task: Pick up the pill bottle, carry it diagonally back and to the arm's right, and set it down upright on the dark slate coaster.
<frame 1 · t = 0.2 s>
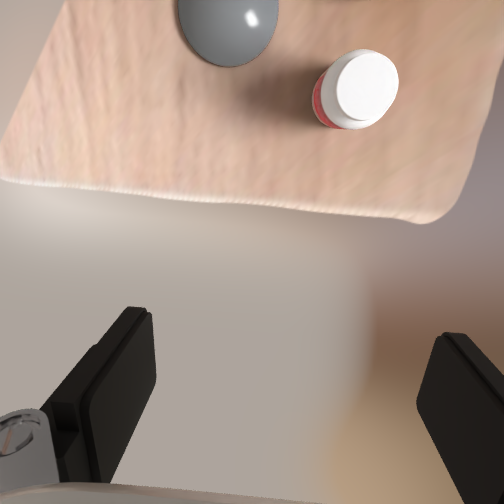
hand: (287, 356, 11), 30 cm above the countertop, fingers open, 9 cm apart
pill bottle: (339, 97, 35), on the countertop
coaster: (228, 10, 32), on the countertop
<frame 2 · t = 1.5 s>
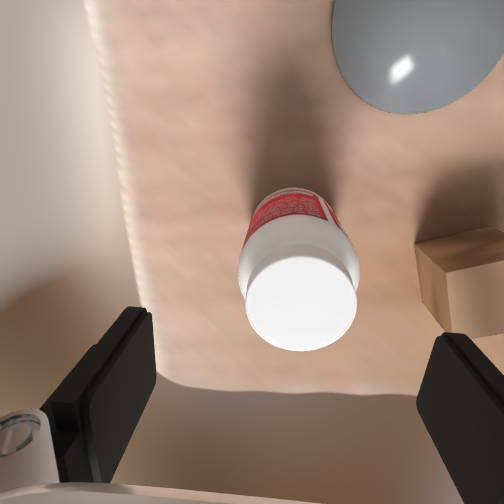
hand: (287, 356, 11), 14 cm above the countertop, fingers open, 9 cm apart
pill bottle: (292, 227, 24), on the countertop
coaster: (420, 19, 18), on the countertop
light brown wooden block: (453, 265, 24), on the countertop
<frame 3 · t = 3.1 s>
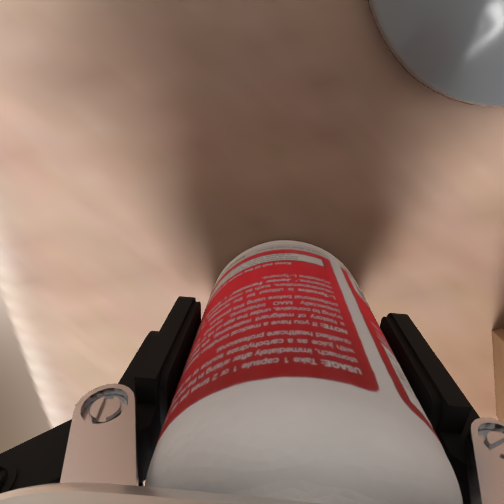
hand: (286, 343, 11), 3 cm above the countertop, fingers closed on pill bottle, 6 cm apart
pill bottle: (284, 301, 14), on the countertop, touching gripper
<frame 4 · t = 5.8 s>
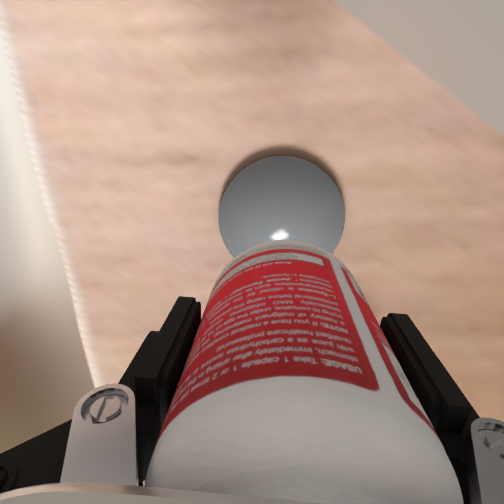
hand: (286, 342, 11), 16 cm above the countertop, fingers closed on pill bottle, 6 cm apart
pill bottle: (284, 301, 14), point 13 cm above the countertop, touching gripper
coaster: (280, 219, 26), on the countertop
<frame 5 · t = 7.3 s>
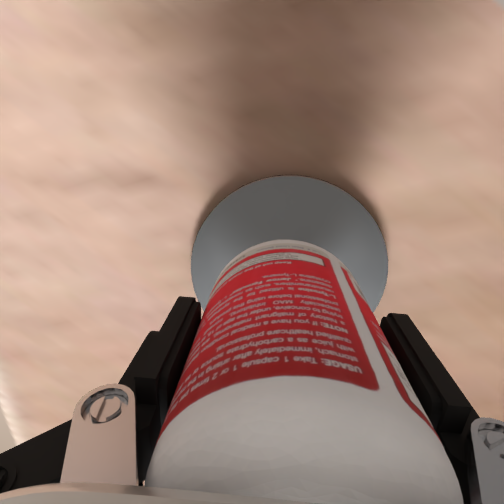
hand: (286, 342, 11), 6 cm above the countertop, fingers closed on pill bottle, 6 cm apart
pill bottle: (284, 300, 14), point 3 cm above the countertop, touching gripper
coaster: (286, 270, 17), on the countertop
when the fingers open (4 cm above the countertop, at t = 8.7 s): pill bottle stays where it is, resting on coaster.
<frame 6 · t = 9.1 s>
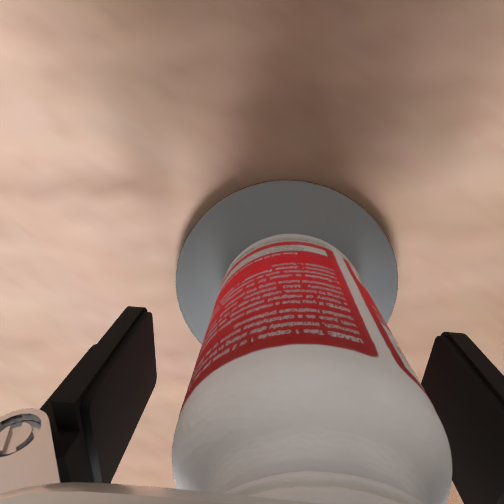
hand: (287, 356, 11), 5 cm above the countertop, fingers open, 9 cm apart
pill bottle: (289, 292, 15), resting on coaster
coaster: (283, 286, 15), on the countertop
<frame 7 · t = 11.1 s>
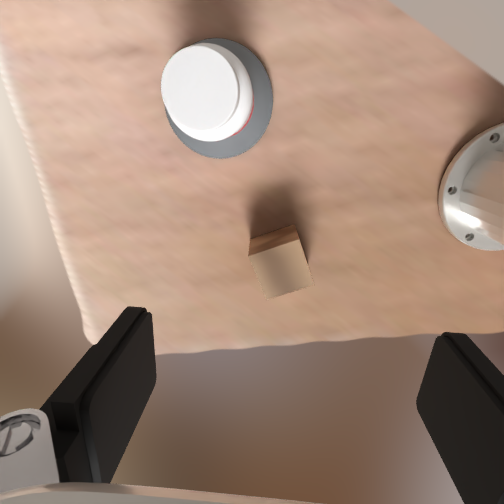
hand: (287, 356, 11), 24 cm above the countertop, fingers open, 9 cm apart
pill bottle: (221, 102, 30), resting on coaster
coaster: (219, 102, 30), on the countertop
light brown wooden block: (279, 251, 35), on the countertop
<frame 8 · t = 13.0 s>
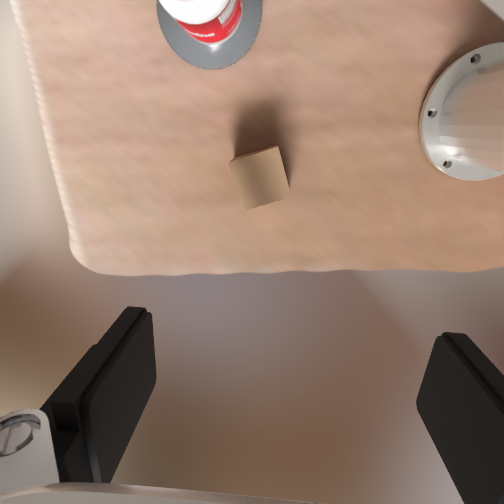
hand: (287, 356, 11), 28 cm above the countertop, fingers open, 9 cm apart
pill bottle: (211, 9, 31), resting on coaster
coaster: (209, 10, 31), on the countertop
light brown wooden block: (262, 172, 36), on the countertop
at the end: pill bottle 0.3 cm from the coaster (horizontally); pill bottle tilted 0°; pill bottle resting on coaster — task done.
